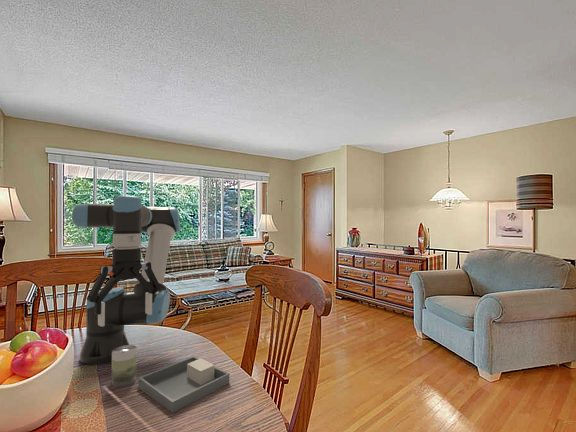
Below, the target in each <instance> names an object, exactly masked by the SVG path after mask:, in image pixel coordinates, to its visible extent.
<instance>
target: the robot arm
mask: <svg viewBox="0 0 576 432" xmlns="http://www.w3.org/2000/svg"><path fill="white" fill-rule="evenodd" d="M71 215H72V216H71V217H72V218H71V219H72V222H73V224H74V225H75V227H78V228H85V229H87V228H112V247H113V249H112V265H111V266H105V265H102V266H100V268H99V273H98V276H97V277H96V280H95V281H94V284H93V286H92V287H91V289H90V291H89V293H88V294H87V297H86V307H85V310H86V311H85V312H86V314H85V315H86V318H85V319H86V322H85V323H86V324H85V325H86V326H85V327H86V336H85V339H84V342H83V345H82V348H81V351H80V353H79V361H80V363H82V364H84V365H89V366H91V365H92V366H96V365H97V366H98V365H104V364H109V363H112V350H114V349H115V348H117V347H120V346H125V345H130V343H129V340H128V337H127V334H126V333H125V326H136V325H137V326H138V325H152V324H159V323H160V324H161V323H162V322H164V321H165V319H166V317H167V315H168V313H169V308H170V300H171V292H170V291H169V290H168V288H167V286H166V285H165V284H164V281H165V275H166V270H167V264H168V258H169V251H170V246H171V240H172V239H174V238H175V236H176V233H180V231H181V224H180V214H179V210H178V208H177V207H173V206H164V207H163V206H145V205H144V204H142V199H141V197H139V196H136V195H135V196H134V195H117V196H114V197H113V203H111V204H109V203H108V204H106V203H105V204H101V203H98V204H97V203H95V204H93V203H79V204H76V205H75V206H74V207H73V209H72V213H71ZM142 233H147V235H148V237H149V238H148V242H147V246H146V252H145V256H144V260H143V262H141V260H142V249H141V248H140V247H141V246H142ZM141 270H142V271H141ZM110 273H112V275H111V276H110V278H109V280H108V281H107V282H106V284H105V285H104V283H105V281H106V279H107V277H108V275H109V274H110ZM132 279H133V280H134V279H136V280H137V281H138V282H137V283H135V285H134V286H133V290H132V291H126V290H125V287H120V286H118V287H115V286H116V285H117V284H118V283H119V282H120V281H126V280H132ZM103 285H104V286H103ZM102 286H103V287H102Z"/></svg>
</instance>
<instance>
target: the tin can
mask: <svg viewBox="0 0 576 432" xmlns="http://www.w3.org/2000/svg"><path fill="white" fill-rule="evenodd" d="M137 354H138V353H137V346H136V345H133V344H129V345H125V346H120V347H117V348H115V349H114V350H112V362H111V377H110V378H111V380H110V381H111V385H112V386H113V387H116V388H117V387H126V386H128V385H129V386H130V384H131V385H132V384H133V383H134V382H135V381H136V380H137V357H138V356H137Z"/></svg>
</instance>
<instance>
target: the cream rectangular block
mask: <svg viewBox="0 0 576 432" xmlns="http://www.w3.org/2000/svg"><path fill="white" fill-rule="evenodd" d="M214 366H215V365H214V364H213V363H211V362H209V361H207V360H205V359H203V358H198V360H195V361H193V362H190V363H188V364H187V377H188V378H189V379H191V380H193V381H194V382H196V383H198V384H200V385H202V384H204V383H206V382H208V381H210V380H212V379H214Z"/></svg>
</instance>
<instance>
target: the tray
mask: <svg viewBox="0 0 576 432" xmlns="http://www.w3.org/2000/svg"><path fill="white" fill-rule="evenodd" d="M198 359H199V357H197V356H194V355H193V356H190V357H188V358H186V359H183V360H180V361H178V362H176V363H173V364H170V365H168V366H166V367H163V368H161V369H158V370H155V371H153V372H150V373H148V374H147V373H146V374H145V375H143V376H140V377H138V383H137V384H138V385H137V386H138V389H140V390H141V391H142V392H144V393H145V394H146V395H147V396H148V397H150V398H152V400H154V401H155V402H156V403H158V404H159V405H161V406H162V407H163V408H164V409H166V410H167V411H169V412H170V413H171V414H174V413H175V412H176V413H177V412H178V411H180V410H181V409H183V408H185V407H187V406H189V405H191V404H193V403H195V402H196V401H198V400H201V399H202V398H205V397H206V396H208V395H210V394H212V393H213V392H215V391H218V390H219V389H221V388H223V387H225V386H227V385H229V384H230V373H228V372H227V371H224V370H223V369H220V368H219V367H217V366H215V365H214V379H212V380H210V381H208V382H206V383H204V384H202V385H200V384H198V383H196V382H194V381H193V380H191V379H189V378H188V377H187V364H188V363H190V362H193V361H195V360H198Z"/></svg>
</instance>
